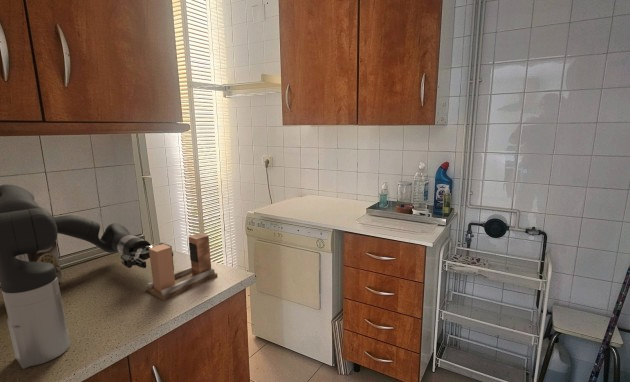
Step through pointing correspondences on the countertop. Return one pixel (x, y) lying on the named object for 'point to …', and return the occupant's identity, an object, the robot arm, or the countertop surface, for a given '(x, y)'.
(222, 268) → the countertop surface
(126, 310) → the countertop surface
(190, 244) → the rail base
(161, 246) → the block
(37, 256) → the coffee box
